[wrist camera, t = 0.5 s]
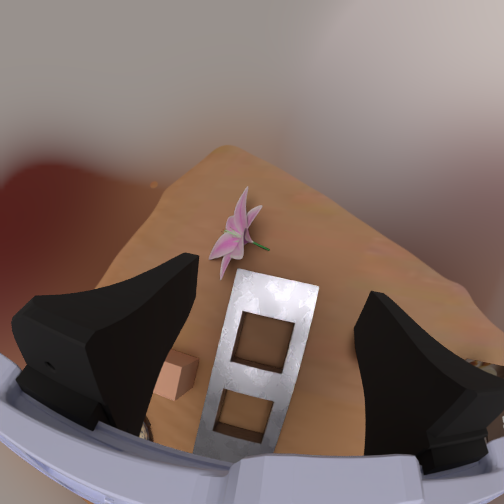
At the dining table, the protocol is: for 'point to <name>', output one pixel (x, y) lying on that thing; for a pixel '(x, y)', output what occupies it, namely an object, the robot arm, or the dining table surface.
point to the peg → (176, 375)
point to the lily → (235, 234)
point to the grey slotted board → (254, 365)
